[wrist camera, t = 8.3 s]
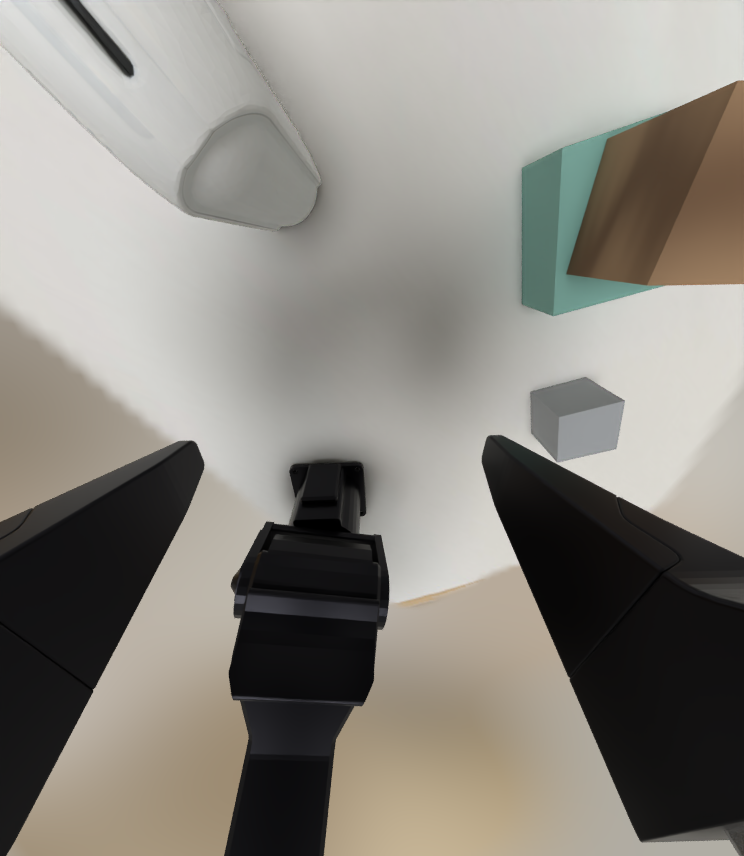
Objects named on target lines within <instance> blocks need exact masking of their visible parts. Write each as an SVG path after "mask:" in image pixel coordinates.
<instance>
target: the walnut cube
mask: <svg viewBox="0 0 744 856" xmlns="http://www.w3.org/2000/svg"><path fill="white" fill-rule="evenodd" d="M566 274H567V275H575V276H582V277H589V278H596V279H603V280H610V281H617V282H624V283H632V284H639V285H646V286H657V285H714V284H744V81H736V82H734V83H732V84H729V85H727V86H725V87H723V88H720V89H718V90H716V91H714V92H711V93H709V94H707V95H705V96H702V97H700V98H698V99H696V100H693V101H691V102H689V103H687V104H684V105H682V106H680V107H678V108H675V109H673V110H671V111H669V112H666V113H664V114H662V115H660V116H657V117H655V118H653V119H651V120H648V121H646V122H644V123H642V124H639V125H637V126H635V127H633V128H630V129H628V130H626V131H624V132H621V133H619V134H617V135H615V136H612V137H610V138H608V139H607V141H606V145H605V148H604V151H603V155H602V158H601V161H600V164H599V168H598V171H597V174H596V178H595V181H594V184H593V188H592V191H591V194H590V197H589V201H588V204H587V207H586V211H585V214H584V217H583V220H582V224H581V227H580V230H579V234H578V237H577V240H576V243H575V247H574V250H573V253H572V257H571V260H570V263H569V267H568V270H567V273H566Z"/></svg>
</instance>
